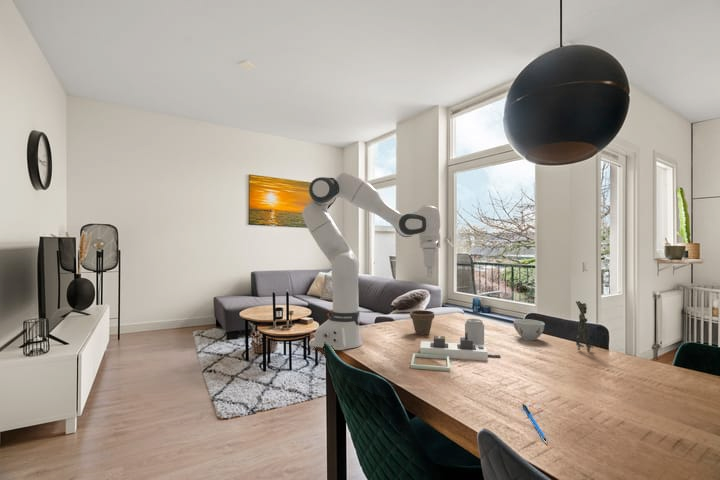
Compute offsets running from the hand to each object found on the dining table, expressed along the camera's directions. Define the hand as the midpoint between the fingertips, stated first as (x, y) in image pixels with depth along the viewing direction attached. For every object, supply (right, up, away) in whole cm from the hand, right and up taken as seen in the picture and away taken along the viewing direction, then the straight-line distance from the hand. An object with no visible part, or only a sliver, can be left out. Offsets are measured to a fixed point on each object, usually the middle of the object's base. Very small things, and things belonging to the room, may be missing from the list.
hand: (429, 276), depth 151 cm
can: (+17, -29, -7) cm, 35 cm away
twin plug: (+10, -28, -18) cm, 35 cm away
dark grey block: (+1, -28, -16) cm, 32 cm away
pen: (+12, -29, -66) cm, 73 cm away
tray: (-5, -29, -27) cm, 40 cm away
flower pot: (0, -30, +18) cm, 35 cm away
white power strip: (+8, -29, -17) cm, 35 cm away
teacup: (+46, -30, +10) cm, 56 cm away
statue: (+60, -29, -10) cm, 68 cm away
